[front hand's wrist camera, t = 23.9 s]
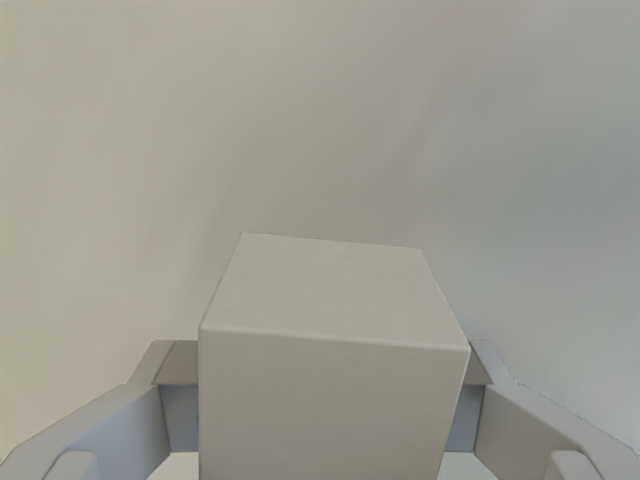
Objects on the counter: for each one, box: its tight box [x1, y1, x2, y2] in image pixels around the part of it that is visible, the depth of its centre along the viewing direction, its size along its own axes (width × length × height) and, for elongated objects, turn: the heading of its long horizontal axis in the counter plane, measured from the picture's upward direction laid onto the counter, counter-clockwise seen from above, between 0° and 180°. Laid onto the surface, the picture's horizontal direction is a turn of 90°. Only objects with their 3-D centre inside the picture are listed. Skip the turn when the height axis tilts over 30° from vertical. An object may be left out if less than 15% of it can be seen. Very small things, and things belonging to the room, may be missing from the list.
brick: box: [198, 232, 471, 480], centre depth 10 cm, size 5×5×4 cm
